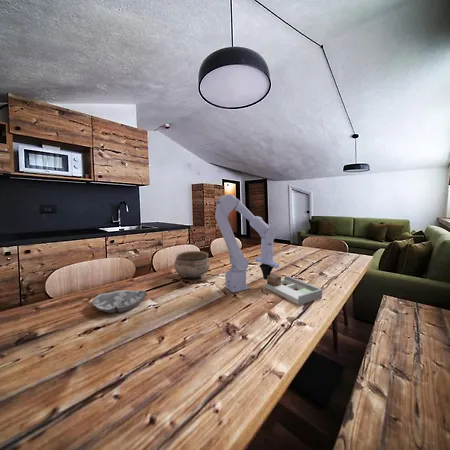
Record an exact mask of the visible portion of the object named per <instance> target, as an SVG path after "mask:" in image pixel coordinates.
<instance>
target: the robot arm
mask: <svg viewBox="0 0 450 450" xmlns="http://www.w3.org/2000/svg"><path fill="white" fill-rule="evenodd" d="M215 205H216V206H215V207H216V208H215V215H214V218H215V221H216V224H217V226H218V228H219V231H220V233H221V235H222V238H223V240H224V242H225V245H226V247H227V250H228V256H229V263H230V265H231V266H230V269H229V270H228V271H226V273H225V276H224V277H225V285H224V288H226V289H228V291H230V292H232V293H238V292H241V291H245V290H249V289H250V288H251V287H250V286H248V285H247V269H248V267H249V260H248V259H247V258H246V257H245V255H244V253H243V252H242V251H241V249H240V247H239V244H238V242H237V239H236V236H235V234H234V232H233V230H232V226H231V224H230V221H229V215H230V213H231V212H232V211H236V212H238V213H239V214H241V215H242V216H243V217H244V218H245V219H247V221H248V222H249V225H250V227H251V228H252V229H254V231H255V232H257V233H258V234H259V237H261V240H260V242H261V243H260V246H261V247H260V256H258V257H255V262H256V263H257V262H258V263H260V264H259V268H260V270H261V272H262V277H263V280H265V281H267V275H271V274H272V271H273V269H276V270H277V269H280V264H279V263H277V262H276V261H275V260H274V243H275V241H274V240H275V238H276V236H277V233H276V231H275V229H274V228H272V227H270V225H269V224H268V223H266V222H265V221H264V220H263V217H262V216H258V215H256V216H255V215H254V214H253V212H251V211H250V209H248V208H247V207H246V206H245V204H244V203H243V202H241V200H240V199H238V198H237V197H236V196H235V195H233V194H223V195H221V196H219V197H218V199H217V201H216V204H215Z"/></svg>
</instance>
